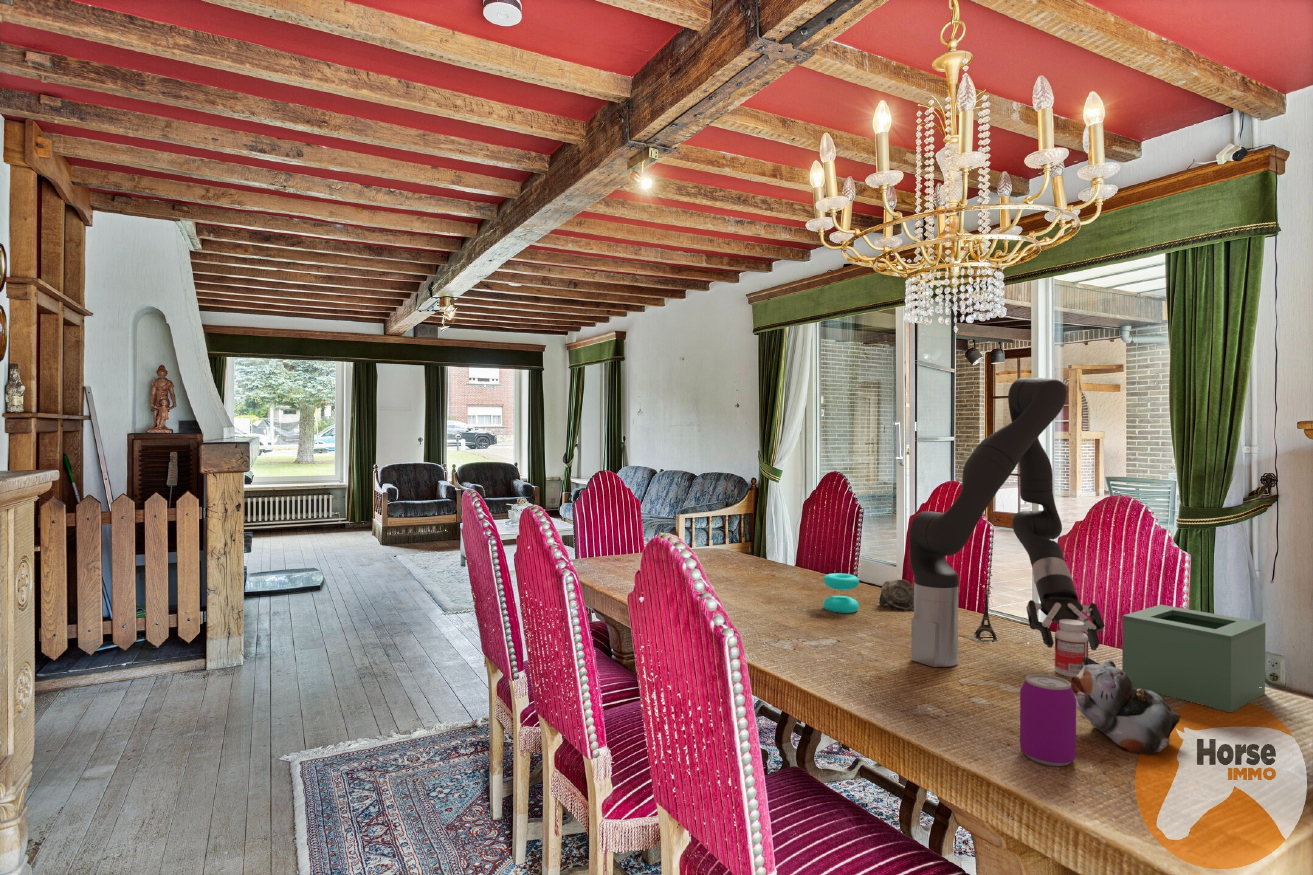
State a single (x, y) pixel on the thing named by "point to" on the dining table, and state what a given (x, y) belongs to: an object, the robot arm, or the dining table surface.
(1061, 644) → the pill bottle
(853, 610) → the donuts
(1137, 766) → the dining table surface
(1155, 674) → the box
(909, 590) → the fossil
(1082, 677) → the lucky cat figurine
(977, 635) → the eiffel tower figurine
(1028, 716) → the beverage can
